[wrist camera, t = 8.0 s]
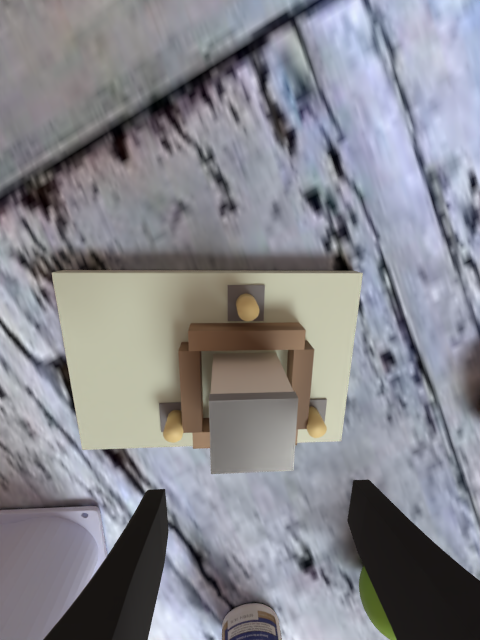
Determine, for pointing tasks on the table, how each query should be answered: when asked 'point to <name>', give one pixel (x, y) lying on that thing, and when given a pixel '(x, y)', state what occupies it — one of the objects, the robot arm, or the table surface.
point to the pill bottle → (251, 623)
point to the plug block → (251, 414)
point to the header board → (172, 328)
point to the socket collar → (233, 340)
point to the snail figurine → (374, 606)
